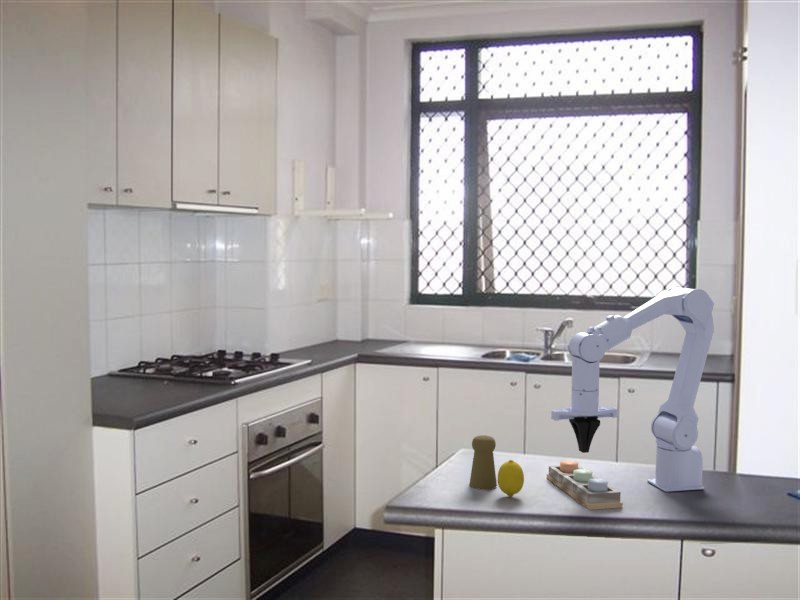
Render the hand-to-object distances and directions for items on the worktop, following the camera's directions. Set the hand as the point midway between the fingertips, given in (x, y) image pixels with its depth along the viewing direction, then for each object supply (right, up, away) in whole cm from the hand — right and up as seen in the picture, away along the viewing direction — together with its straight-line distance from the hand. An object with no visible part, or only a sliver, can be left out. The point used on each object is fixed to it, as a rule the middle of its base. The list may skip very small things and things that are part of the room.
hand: (583, 451), depth 179 cm
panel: (0, -9, +1) cm, 9 cm away
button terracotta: (-2, -7, +7) cm, 10 cm away
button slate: (+1, -8, -6) cm, 10 cm away
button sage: (0, -7, +1) cm, 8 cm away
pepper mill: (-21, -9, +5) cm, 23 cm away
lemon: (-16, -9, -3) cm, 19 cm away
